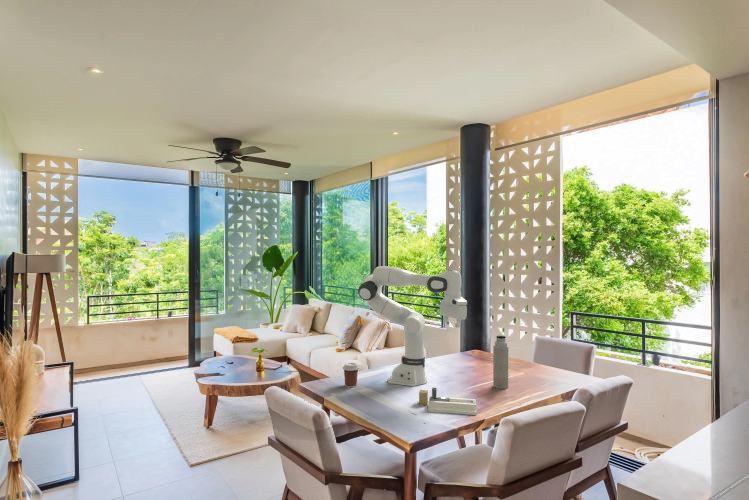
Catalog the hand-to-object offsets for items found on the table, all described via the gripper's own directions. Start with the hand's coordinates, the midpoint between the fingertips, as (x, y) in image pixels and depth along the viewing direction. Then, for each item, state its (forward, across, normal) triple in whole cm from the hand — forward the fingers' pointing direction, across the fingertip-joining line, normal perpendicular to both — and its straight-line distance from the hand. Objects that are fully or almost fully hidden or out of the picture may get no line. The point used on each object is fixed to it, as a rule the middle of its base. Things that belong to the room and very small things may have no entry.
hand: (452, 325), depth 235 cm
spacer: (+36, +10, -23) cm, 43 cm away
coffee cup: (+36, -32, -45) cm, 66 cm away
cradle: (+35, +22, -14) cm, 44 cm away
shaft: (+34, +19, -19) cm, 43 cm away
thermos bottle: (+35, +4, +30) cm, 46 cm away
